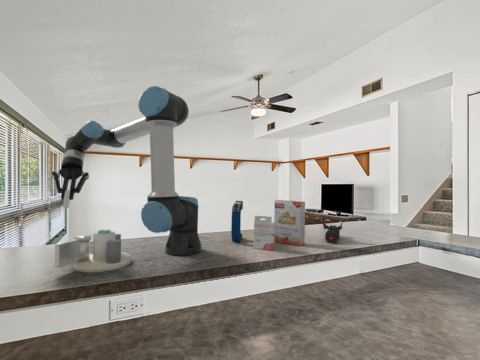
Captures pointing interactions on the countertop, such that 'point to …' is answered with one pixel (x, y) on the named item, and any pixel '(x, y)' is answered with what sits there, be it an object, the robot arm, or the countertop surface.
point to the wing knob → (73, 250)
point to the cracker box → (289, 222)
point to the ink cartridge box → (263, 233)
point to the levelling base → (102, 264)
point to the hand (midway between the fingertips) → (65, 205)
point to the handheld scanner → (236, 221)
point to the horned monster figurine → (332, 233)
